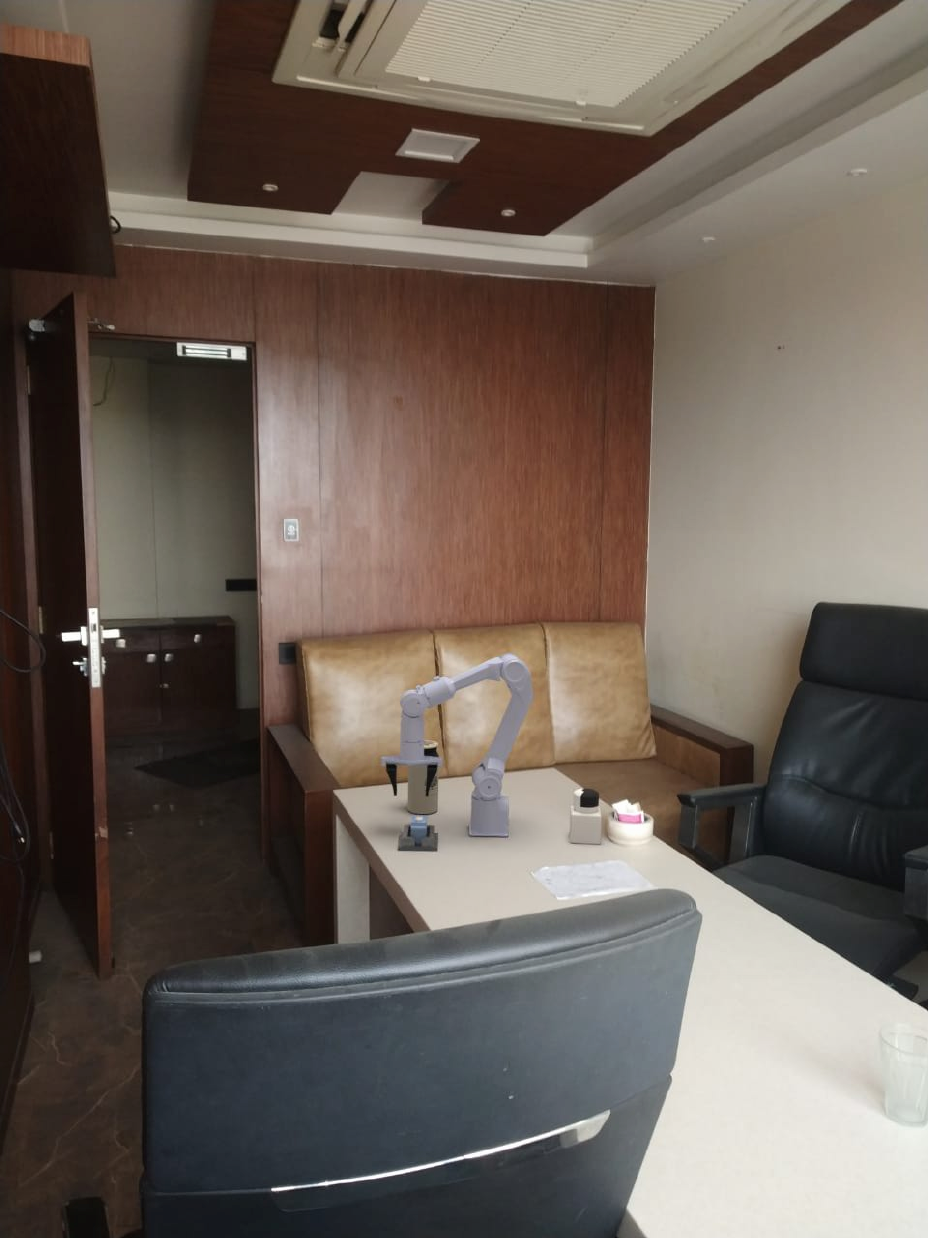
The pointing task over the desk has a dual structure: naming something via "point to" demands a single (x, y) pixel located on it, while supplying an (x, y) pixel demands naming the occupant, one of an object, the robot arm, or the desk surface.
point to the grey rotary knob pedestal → (585, 817)
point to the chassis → (426, 842)
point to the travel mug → (423, 785)
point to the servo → (418, 827)
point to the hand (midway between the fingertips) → (411, 794)
